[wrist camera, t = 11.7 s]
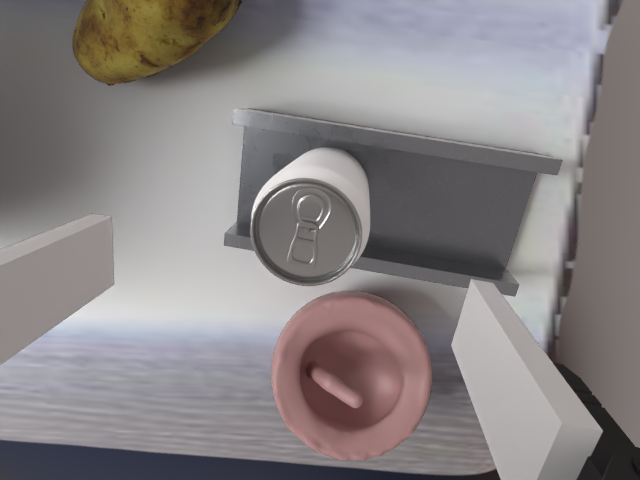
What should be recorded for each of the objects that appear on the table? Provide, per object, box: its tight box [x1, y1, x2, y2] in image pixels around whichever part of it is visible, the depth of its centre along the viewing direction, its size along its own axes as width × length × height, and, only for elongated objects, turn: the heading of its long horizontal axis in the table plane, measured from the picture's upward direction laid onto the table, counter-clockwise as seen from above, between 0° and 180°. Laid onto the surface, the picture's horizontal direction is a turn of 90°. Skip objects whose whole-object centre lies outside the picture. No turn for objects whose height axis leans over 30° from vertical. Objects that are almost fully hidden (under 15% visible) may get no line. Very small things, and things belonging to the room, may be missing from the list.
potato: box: [73, 0, 242, 86], centre depth 25 cm, size 8×13×8 cm, turn 95°
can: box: [250, 147, 370, 286], centre depth 25 cm, size 6×6×12 cm
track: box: [224, 109, 562, 296], centre depth 30 cm, size 22×10×4 cm, turn 82°
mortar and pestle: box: [271, 291, 432, 461], centre depth 30 cm, size 12×12×11 cm
